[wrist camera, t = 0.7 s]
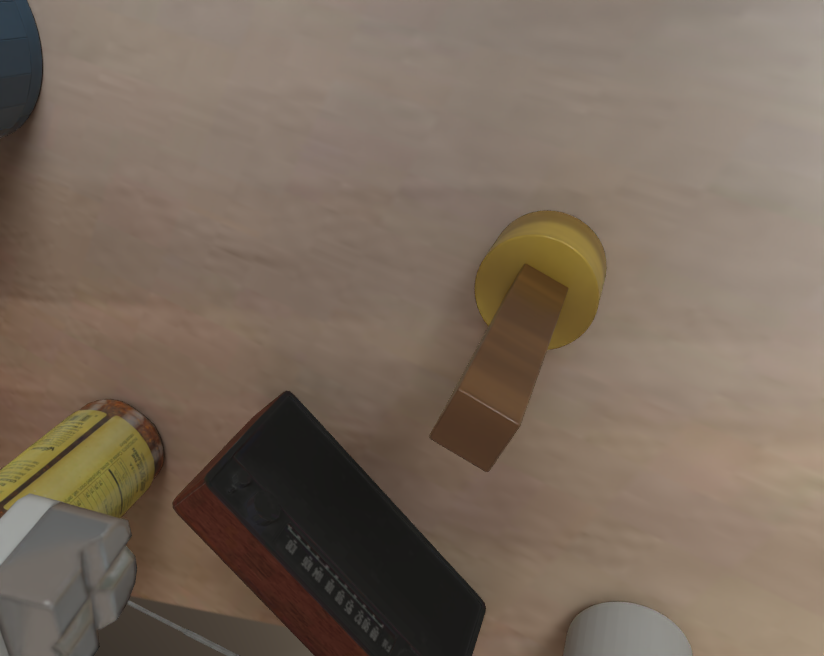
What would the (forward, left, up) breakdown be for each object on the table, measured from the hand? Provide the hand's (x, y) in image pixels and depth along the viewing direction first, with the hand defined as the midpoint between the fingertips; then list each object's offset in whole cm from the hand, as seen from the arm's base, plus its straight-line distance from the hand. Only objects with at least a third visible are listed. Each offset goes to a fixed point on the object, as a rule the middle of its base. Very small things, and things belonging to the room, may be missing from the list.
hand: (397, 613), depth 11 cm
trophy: (+4, 0, -24) cm, 25 cm away
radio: (+21, -2, -25) cm, 32 cm away
